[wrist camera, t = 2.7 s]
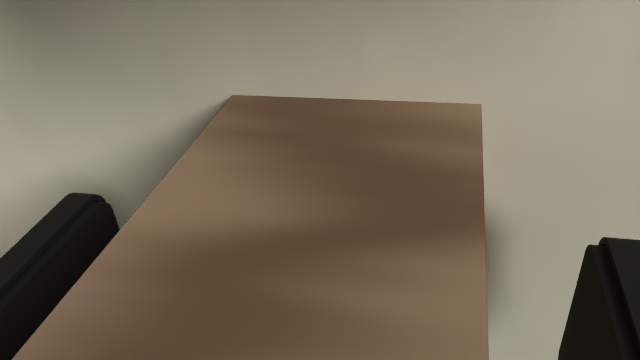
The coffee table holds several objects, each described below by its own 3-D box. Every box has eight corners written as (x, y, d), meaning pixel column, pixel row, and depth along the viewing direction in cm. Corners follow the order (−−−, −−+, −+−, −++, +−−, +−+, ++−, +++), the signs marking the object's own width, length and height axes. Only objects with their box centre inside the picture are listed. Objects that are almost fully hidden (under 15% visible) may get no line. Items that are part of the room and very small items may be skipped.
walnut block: (480, 104, 10) (495, 604, 4) (461, 294, 13) (451, 771, 7) (232, 94, 11) (-79, 468, 5) (263, 271, 14) (87, 661, 8)
